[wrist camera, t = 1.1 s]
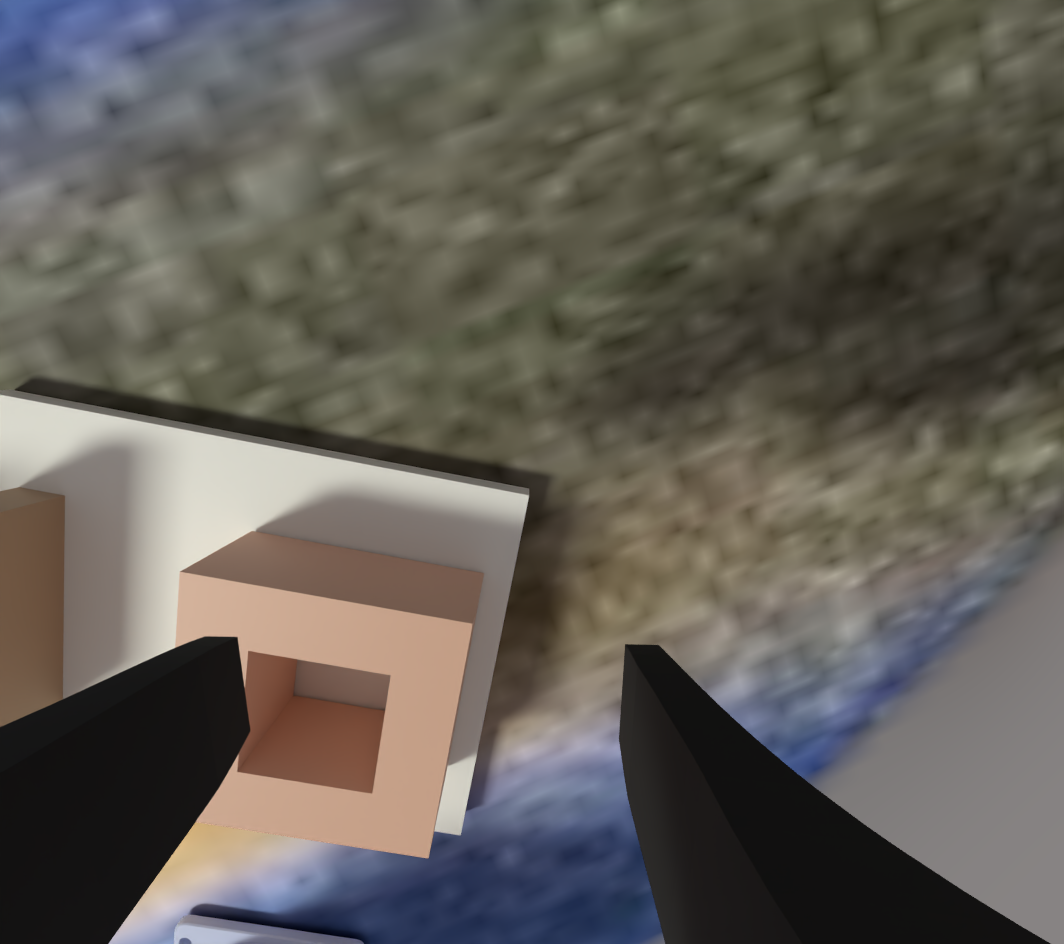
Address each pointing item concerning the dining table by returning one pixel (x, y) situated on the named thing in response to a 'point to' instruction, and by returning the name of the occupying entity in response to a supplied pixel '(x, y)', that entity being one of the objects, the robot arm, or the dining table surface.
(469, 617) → the sliding block
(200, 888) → the dining table surface
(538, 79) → the dining table surface
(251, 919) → the dining table surface
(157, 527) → the base board
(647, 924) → the dining table surface
